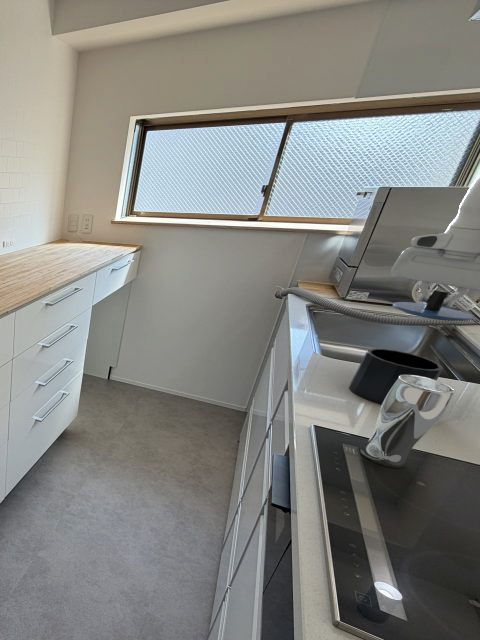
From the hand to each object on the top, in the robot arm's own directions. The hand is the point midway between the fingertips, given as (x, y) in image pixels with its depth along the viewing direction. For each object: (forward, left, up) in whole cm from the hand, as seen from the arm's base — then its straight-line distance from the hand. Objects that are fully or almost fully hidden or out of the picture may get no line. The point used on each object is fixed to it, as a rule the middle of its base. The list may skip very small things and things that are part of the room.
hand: (434, 303), depth 97 cm
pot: (-4, +16, -20) cm, 26 cm away
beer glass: (-16, +48, -20) cm, 54 cm away
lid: (0, 0, -2) cm, 2 cm away
